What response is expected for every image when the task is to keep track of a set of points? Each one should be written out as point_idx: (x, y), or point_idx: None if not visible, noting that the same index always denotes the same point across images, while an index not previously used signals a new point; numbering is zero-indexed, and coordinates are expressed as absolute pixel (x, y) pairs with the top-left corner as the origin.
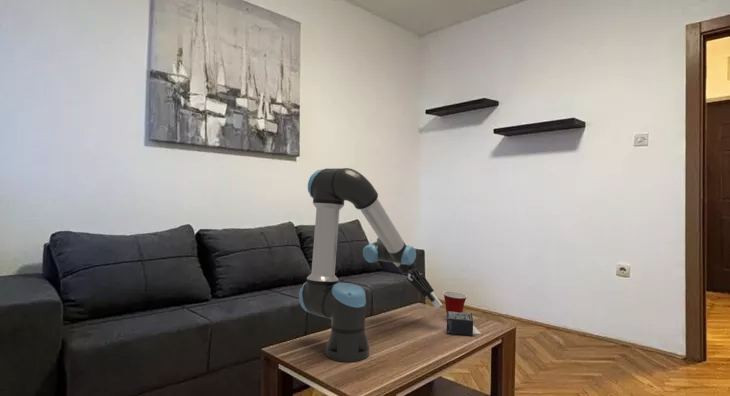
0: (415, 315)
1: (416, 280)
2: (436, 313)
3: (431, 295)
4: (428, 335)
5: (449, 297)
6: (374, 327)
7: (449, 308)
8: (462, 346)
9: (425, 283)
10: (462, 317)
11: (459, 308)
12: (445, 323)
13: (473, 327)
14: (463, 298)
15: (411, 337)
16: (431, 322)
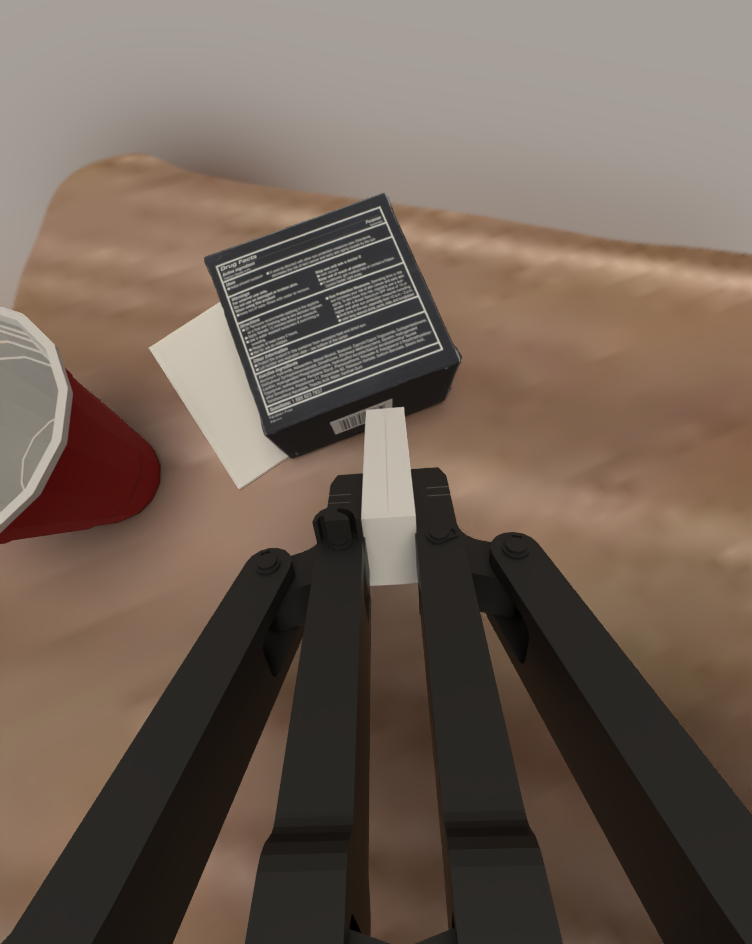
0: None
1: (748, 846)
2: (19, 649)
3: (419, 509)
4: (537, 487)
5: (65, 444)
6: (647, 915)
7: (117, 474)
8: (581, 258)
9: (337, 681)
10: (364, 272)
11: (92, 395)
12: (239, 489)
13: (223, 312)
14: (19, 318)
15: (649, 562)
16: None
